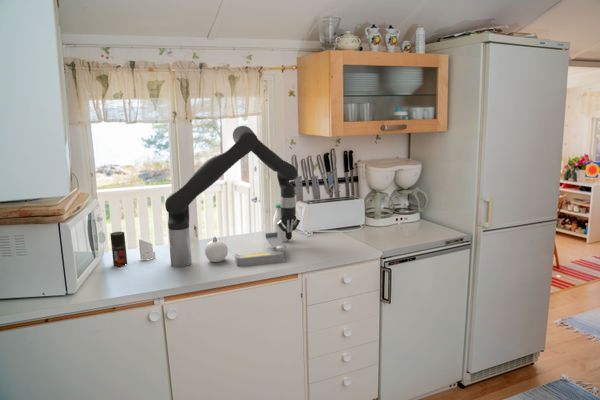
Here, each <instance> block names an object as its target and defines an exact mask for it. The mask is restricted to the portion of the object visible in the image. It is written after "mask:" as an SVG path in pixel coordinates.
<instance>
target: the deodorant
mask: <svg viewBox="0 0 600 400" xmlns="http://www.w3.org/2000/svg"><path fill="white" fill-rule="evenodd" d="M125 235H126V234H125V232H124V231H114V232H111V233H110V242H111V244H110V245H111V252H112V261H113V262H112V264H113V267H115V266H122V265H125V264H127V265H128V256H127V246H126V238H125V237H126V236H125ZM122 267H123V266H122Z"/></svg>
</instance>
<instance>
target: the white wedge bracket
mask: <svg viewBox="0 0 600 400" xmlns="http://www.w3.org/2000/svg"><path fill="white" fill-rule="evenodd" d="M138 245H139V246H138V247H139V255H140V256H139V257H140V260H141V259H143V260H146V261H148V260H147V259H150V260H152V259H151V258H153V259H155V258H154V257H156V251H154V247H153V246H154V245H153V243H151V242H148V241H146V240H142V239H140V238H139V239H138ZM143 260H142V261H143Z"/></svg>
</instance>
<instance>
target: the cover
mask: <svg viewBox="0 0 600 400" xmlns="http://www.w3.org/2000/svg"><path fill="white" fill-rule="evenodd" d="M264 235H265V236H264V237H265V239H266V241H267V243H268V244H269V245H270V246H271V248H272V249H273V250H275V251H282V250H283V251H285V250H286V248H287V246H286V244H285V242H282V241H281V240H280V239H279V238H278V234H277V232H273V231H272V232H265V233H264Z"/></svg>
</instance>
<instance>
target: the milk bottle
mask: <svg viewBox="0 0 600 400" xmlns="http://www.w3.org/2000/svg"><path fill="white" fill-rule="evenodd" d="M280 218H281V206H280V203H276V204H275V212H274V215H273V218H272V233H273V232H277V234H278V238H279V239H280V240H281V241H282V242H283V243H285V242H287V241H288V239H287V238H286V233H285V232H284V231H282V230H281V229H280V228H279V226H278V225H277V224H276V223H277V222H279V221H280ZM282 226H283V227H284V224H283V223H282ZM284 228H285V227H284Z"/></svg>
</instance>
